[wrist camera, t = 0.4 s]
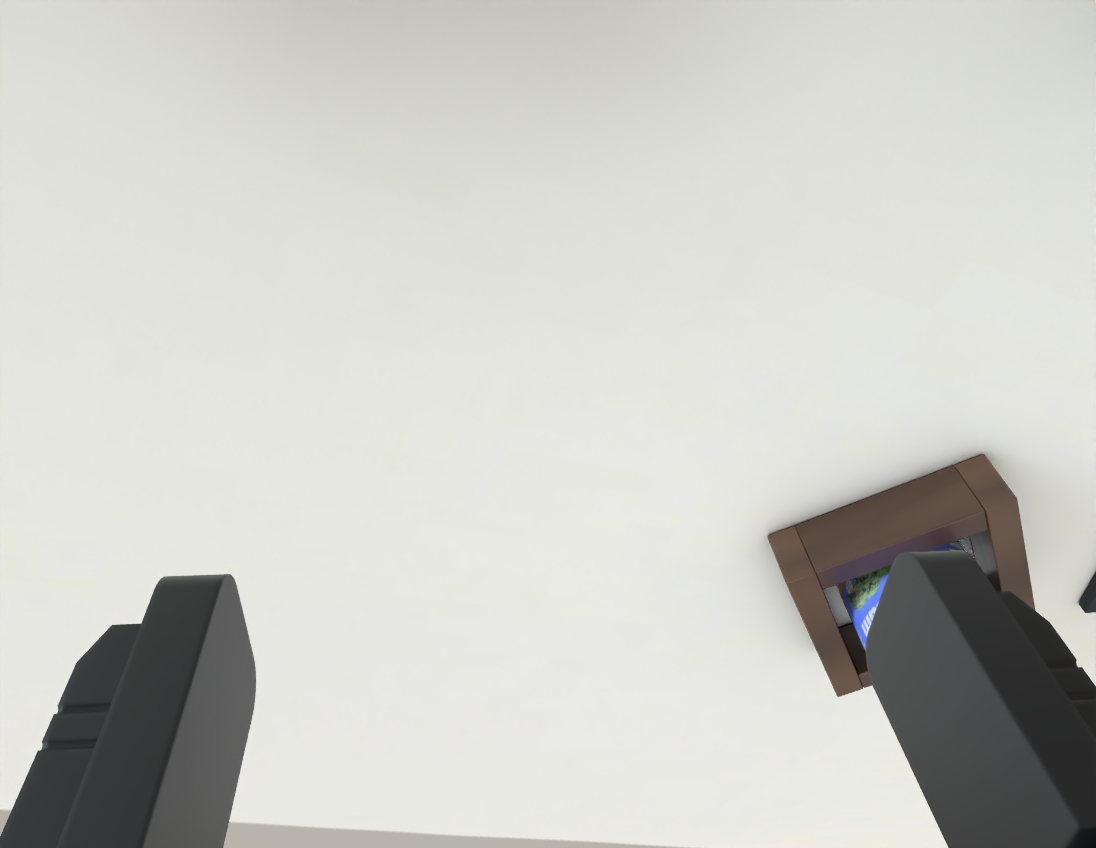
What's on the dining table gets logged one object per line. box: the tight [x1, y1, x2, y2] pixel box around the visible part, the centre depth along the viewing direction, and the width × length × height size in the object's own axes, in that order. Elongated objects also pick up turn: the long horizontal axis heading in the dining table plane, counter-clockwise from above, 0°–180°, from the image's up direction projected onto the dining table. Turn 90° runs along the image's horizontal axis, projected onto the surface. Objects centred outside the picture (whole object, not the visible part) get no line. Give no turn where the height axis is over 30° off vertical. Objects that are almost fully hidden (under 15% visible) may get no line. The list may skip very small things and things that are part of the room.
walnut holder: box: [768, 454, 1035, 697], centre depth 37 cm, size 9×9×3 cm
